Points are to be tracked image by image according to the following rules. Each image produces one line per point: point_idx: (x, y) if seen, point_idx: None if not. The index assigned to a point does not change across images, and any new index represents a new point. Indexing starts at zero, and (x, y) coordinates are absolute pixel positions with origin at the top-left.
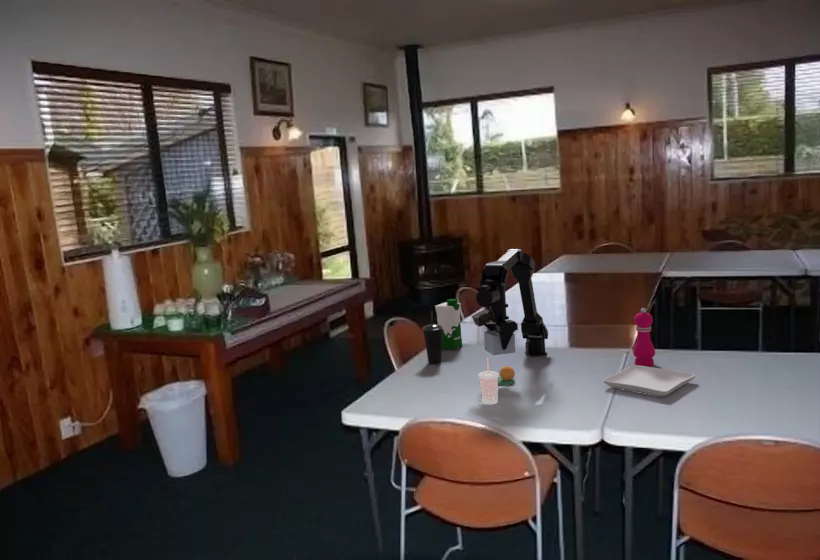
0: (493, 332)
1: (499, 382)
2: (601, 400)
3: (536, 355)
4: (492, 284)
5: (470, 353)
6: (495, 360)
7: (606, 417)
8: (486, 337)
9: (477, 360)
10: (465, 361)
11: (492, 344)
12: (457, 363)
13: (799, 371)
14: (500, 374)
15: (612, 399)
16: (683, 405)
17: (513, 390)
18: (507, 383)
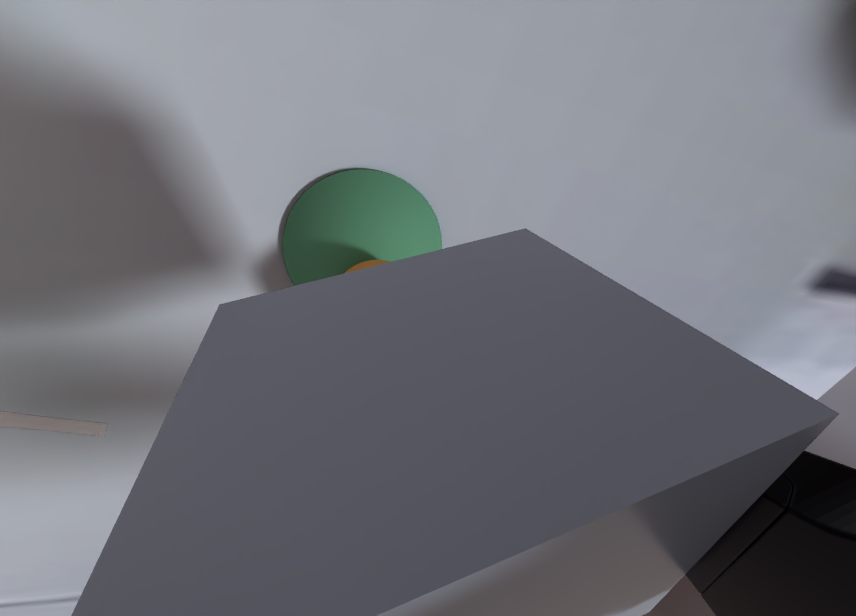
0: (596, 583)
1: (337, 239)
2: (21, 584)
3: None
4: None
5: (823, 180)
6: (671, 271)
7: None
8: (579, 370)
9: (729, 192)
10: (765, 124)
11: (205, 419)
12: (778, 62)
13: None
14: (363, 266)
15: (45, 602)
16: None
17: (172, 295)
18: (308, 279)
